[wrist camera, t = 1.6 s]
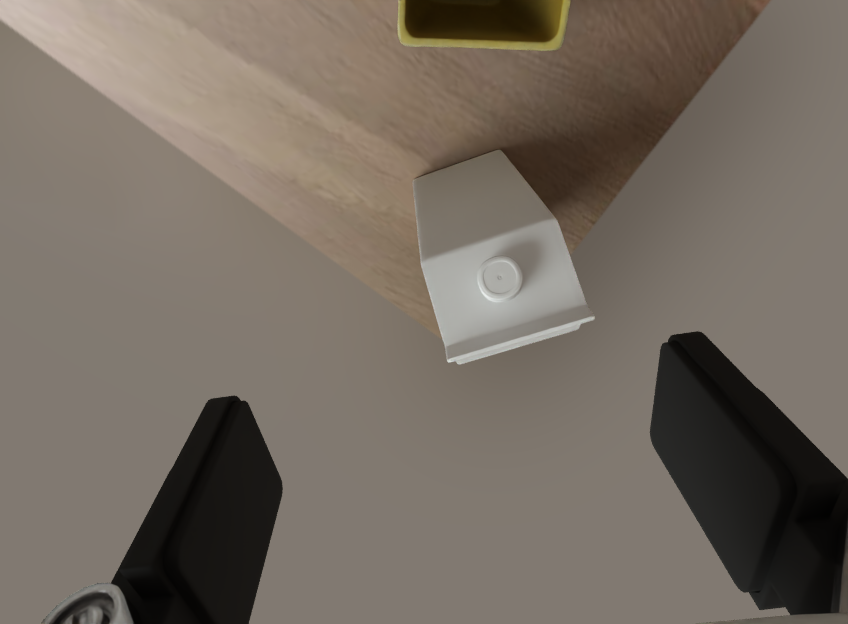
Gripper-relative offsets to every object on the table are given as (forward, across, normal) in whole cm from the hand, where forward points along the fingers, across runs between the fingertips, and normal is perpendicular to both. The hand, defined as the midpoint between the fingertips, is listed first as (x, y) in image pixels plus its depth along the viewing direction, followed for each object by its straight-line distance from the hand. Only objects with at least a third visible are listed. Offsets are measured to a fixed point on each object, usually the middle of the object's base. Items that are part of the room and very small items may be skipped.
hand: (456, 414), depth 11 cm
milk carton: (+30, -3, +5) cm, 30 cm away
